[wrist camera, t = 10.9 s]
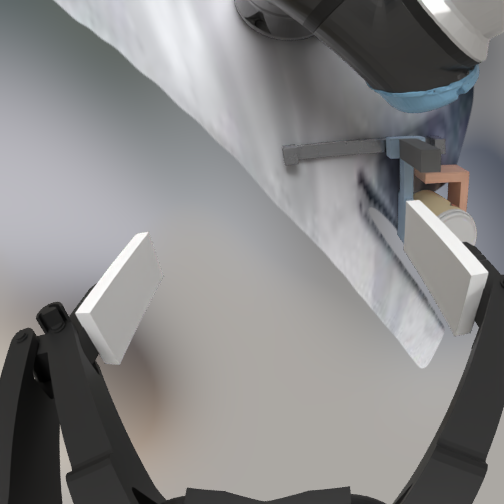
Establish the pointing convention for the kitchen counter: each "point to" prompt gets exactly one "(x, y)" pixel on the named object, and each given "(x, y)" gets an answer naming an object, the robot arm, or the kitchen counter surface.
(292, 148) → the rail
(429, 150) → the pusher
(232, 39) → the kitchen counter surface
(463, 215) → the coffee cup
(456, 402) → the robot arm
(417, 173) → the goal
